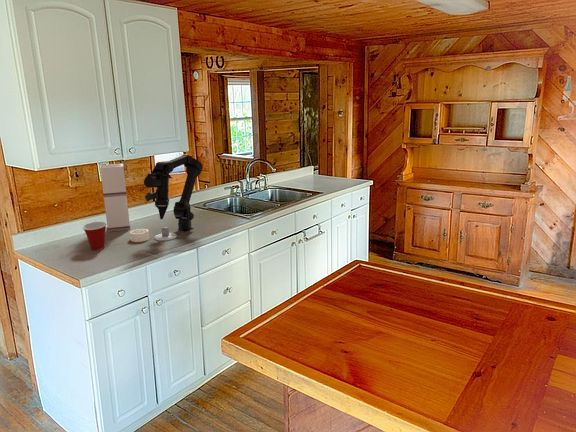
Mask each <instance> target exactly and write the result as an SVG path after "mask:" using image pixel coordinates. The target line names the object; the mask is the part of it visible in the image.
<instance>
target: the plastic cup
mask: <svg viewBox="0 0 576 432" xmlns="http://www.w3.org/2000/svg"><path fill="white" fill-rule="evenodd" d="M81 228H82V230H84V233H85V235H86V238H87V240H88V243H89V246H90V249H91V250H93V251H101V250H103V249H105V245H106V244H105V243H106V242H105V241H106V230H107V229H106V228H107V221H93V222H89V223H85V224H84V225H82V227H81Z"/></svg>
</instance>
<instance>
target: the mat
mask: <svg viewBox="0 0 576 432" xmlns="http://www.w3.org/2000/svg"><path fill="white" fill-rule="evenodd" d="M181 237H182V236H181V235H177V237H176V238H175V239H174V240H176V239H179V238H181ZM149 239H150V240H155V236H153V237H151V238H150V237H149ZM155 241H156V240H155ZM157 241H158V242H160V241H159V240H157ZM169 241H170V240H167V241H161V242H162V243H167V242H169Z"/></svg>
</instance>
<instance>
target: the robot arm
mask: <svg viewBox="0 0 576 432" xmlns="http://www.w3.org/2000/svg"><path fill="white" fill-rule="evenodd" d="M181 166H184V167H185V171H186V172H185V173H186V179H185V182H184V184H183V189H182V193H181V196H180V199H179V200H178V201H175V203H174V206H173V208H172V210H173V211H172V213H173V215H174V218H175V220H178V221H177V224H178V225H177V226H178V228H177V229H176V231H180V232H188V231H191V230H194V227H192V220H193V219H194V218H195V217H194V216H195V214H194V213H193V212H192V211H191V210H192V209H191V204H190V202H191V197H192V194H193V191H194V188H195V184H196V180H197V178H198V177H199V176H200V175H201V174H202V171H203V164H202V162H201V161H199V160H198V159H196V158H194V157H193V156H192V155H190V154H182V155H180V156H177V157H175V158H172V159H171V160H168V161H167V160H164V161H157V162H156V163H155V165H154V167H153V169H152V171H151V173H147V175H146V176H145V178H144V179H143V184H144V186H145V187H146V188H152V189H153V188H154V189H155V191H154V192H150V191H149V192H147V193H146V194H145V195H144V198H145V201H146V202H150V201H153V200H155V201H154V207H155V208H157V210H158V215H159V219H160V220H163V219H164V217H165V214H166V212H167V210H168V208H169V205H170V197H169V192H170V191H169V190H170V189H169V186H170V183H169V181H170V179H172V176H171V175H170V174H171V173H172V172H174V169H176V168H178V167H181Z"/></svg>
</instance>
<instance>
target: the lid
mask: <svg viewBox="0 0 576 432" xmlns="http://www.w3.org/2000/svg"><path fill="white" fill-rule="evenodd" d="M177 236H178V235H177V233H173V232H170V227H169V226H162V227H161V233H159V234H157V235H154V237H155V241H158V240H159V241H158V242H162V241H166V242H168V241H167V240H169V241H173V240H176V239H177V238H176V237H177ZM175 238H176V239H175Z"/></svg>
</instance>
